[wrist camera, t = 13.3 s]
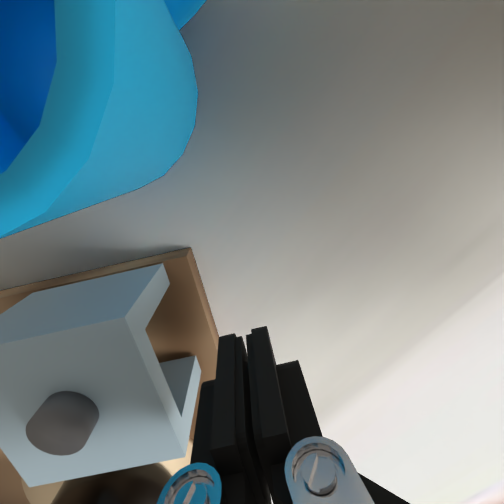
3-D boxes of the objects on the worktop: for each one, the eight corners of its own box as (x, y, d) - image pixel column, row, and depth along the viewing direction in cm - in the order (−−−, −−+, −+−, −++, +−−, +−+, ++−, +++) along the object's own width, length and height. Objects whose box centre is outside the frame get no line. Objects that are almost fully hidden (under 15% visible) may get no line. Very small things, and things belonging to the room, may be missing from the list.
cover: (162, 263, 12) (112, 333, 8) (201, 371, 14) (181, 480, 10) (32, 292, 13) (-95, 378, 8) (88, 394, 15) (13, 513, 10)
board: (187, 237, 14) (165, 272, 10) (268, 493, 20) (275, 578, 16) (-121, 308, 14) (-259, 367, 10) (50, 534, 21) (5, 625, 17)
